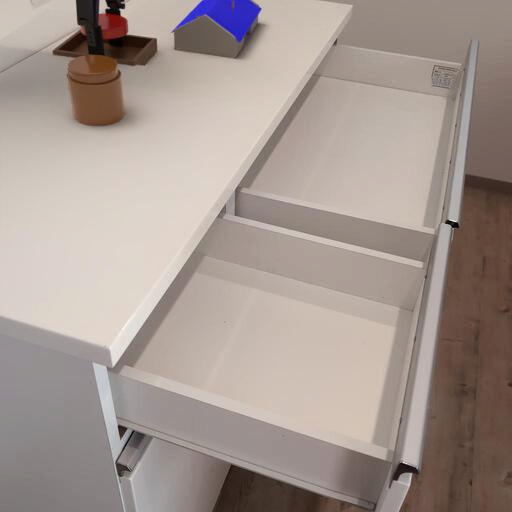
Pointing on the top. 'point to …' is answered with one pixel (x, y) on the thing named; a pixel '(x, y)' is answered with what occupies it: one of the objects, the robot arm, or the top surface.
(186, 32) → the toy house
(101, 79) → the jar
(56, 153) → the top surface
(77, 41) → the tray
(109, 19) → the cap
